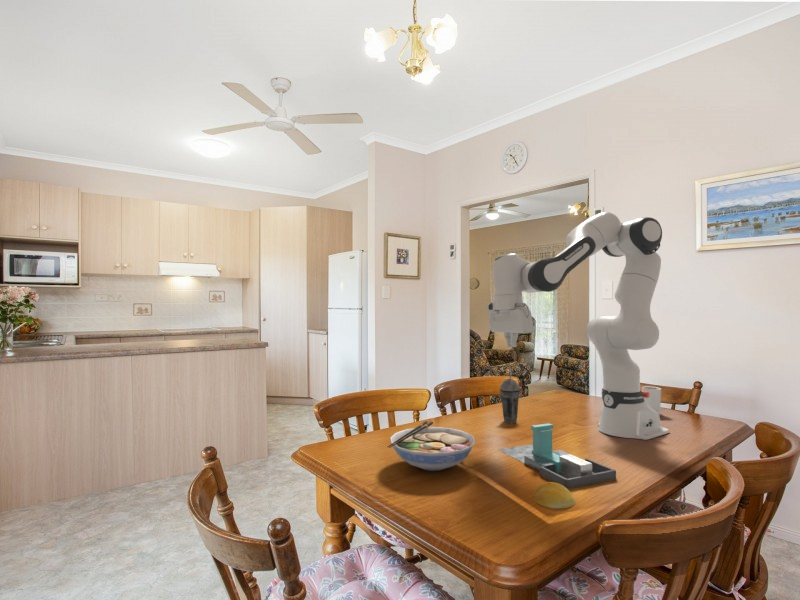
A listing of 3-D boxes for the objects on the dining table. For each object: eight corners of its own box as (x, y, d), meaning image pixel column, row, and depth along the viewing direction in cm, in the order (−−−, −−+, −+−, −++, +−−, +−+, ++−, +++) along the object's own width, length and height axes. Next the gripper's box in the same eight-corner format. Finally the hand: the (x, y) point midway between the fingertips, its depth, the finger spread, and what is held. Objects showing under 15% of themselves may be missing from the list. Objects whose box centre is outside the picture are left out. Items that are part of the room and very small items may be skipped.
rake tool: (546, 456, 118) (546, 422, 118) (573, 469, 109) (573, 431, 109) (528, 459, 116) (528, 424, 116) (554, 473, 107) (554, 434, 107)
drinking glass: (665, 415, 166) (665, 389, 166) (648, 415, 166) (647, 389, 166) (655, 411, 173) (654, 386, 173) (638, 411, 172) (638, 386, 173)
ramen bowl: (455, 492, 98) (454, 456, 98) (371, 474, 110) (370, 442, 110) (488, 458, 120) (488, 429, 120) (415, 446, 131) (415, 419, 131)
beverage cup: (497, 422, 158) (496, 367, 158) (504, 418, 164) (503, 365, 164) (516, 425, 154) (515, 369, 154) (523, 420, 160) (522, 366, 160)
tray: (587, 470, 111) (586, 458, 111) (616, 483, 103) (615, 470, 103) (540, 478, 106) (539, 466, 106) (566, 493, 97) (566, 480, 97)
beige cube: (570, 470, 109) (570, 454, 109) (581, 475, 105) (580, 458, 105) (559, 472, 107) (559, 456, 107) (569, 477, 104) (569, 460, 104)
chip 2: (581, 475, 105) (580, 458, 105) (592, 480, 102) (592, 463, 102) (569, 477, 104) (569, 460, 104) (580, 482, 101) (580, 465, 101)
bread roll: (535, 512, 89) (535, 493, 89) (532, 494, 98) (532, 476, 98) (578, 516, 87) (578, 496, 87) (571, 497, 96) (571, 479, 96)
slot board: (531, 447, 129) (531, 437, 129) (582, 470, 111) (582, 459, 111) (497, 452, 125) (497, 442, 125) (545, 478, 106) (544, 465, 106)
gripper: (536, 302, 130) (540, 347, 129) (500, 304, 149) (503, 344, 149) (518, 303, 128) (522, 349, 128) (484, 305, 147) (487, 346, 147)
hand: (511, 347), depth 138 cm, fingers closed
